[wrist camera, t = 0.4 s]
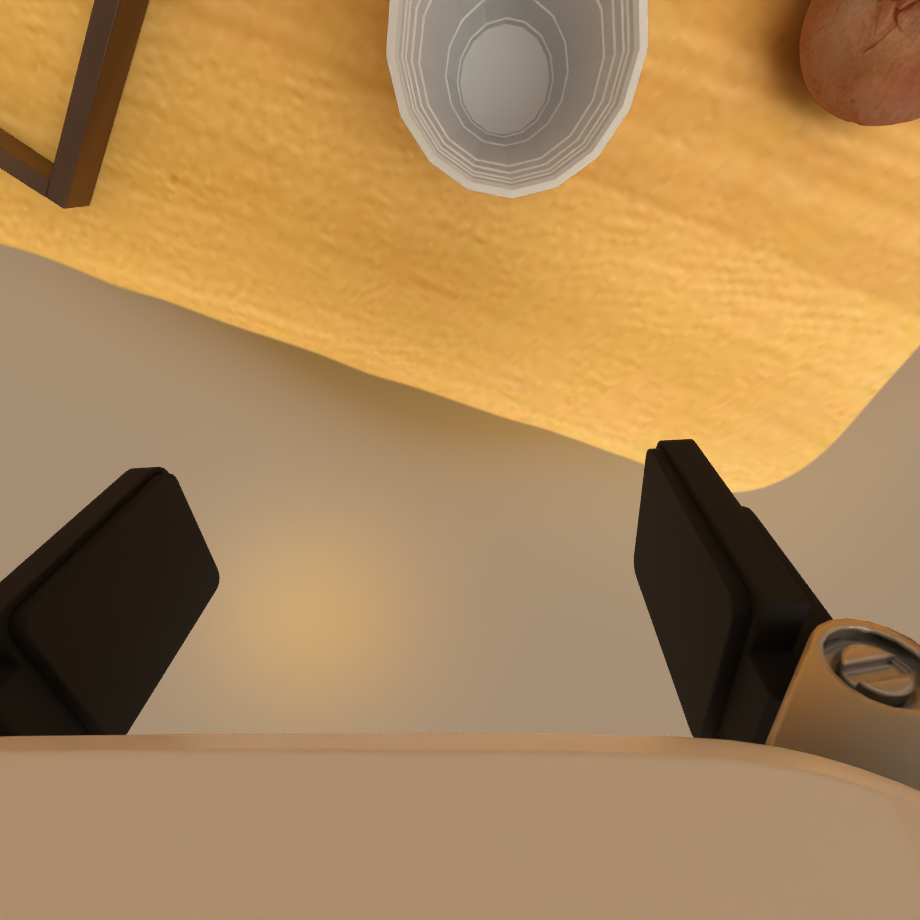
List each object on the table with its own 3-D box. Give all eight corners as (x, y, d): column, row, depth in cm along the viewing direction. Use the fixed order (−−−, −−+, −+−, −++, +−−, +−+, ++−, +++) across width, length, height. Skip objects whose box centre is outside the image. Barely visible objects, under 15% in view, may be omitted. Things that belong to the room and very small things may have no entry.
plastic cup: (504, 223, 35) (511, 251, 24) (382, 89, 31) (331, 57, 21) (634, 80, 30) (710, 42, 20) (511, -94, 27) (526, -248, 17)
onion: (768, 32, 31) (777, -52, 23) (969, -112, 26) (1075, -289, 18) (825, 177, 32) (854, 146, 24) (1031, 66, 27) (1159, -23, 19)
